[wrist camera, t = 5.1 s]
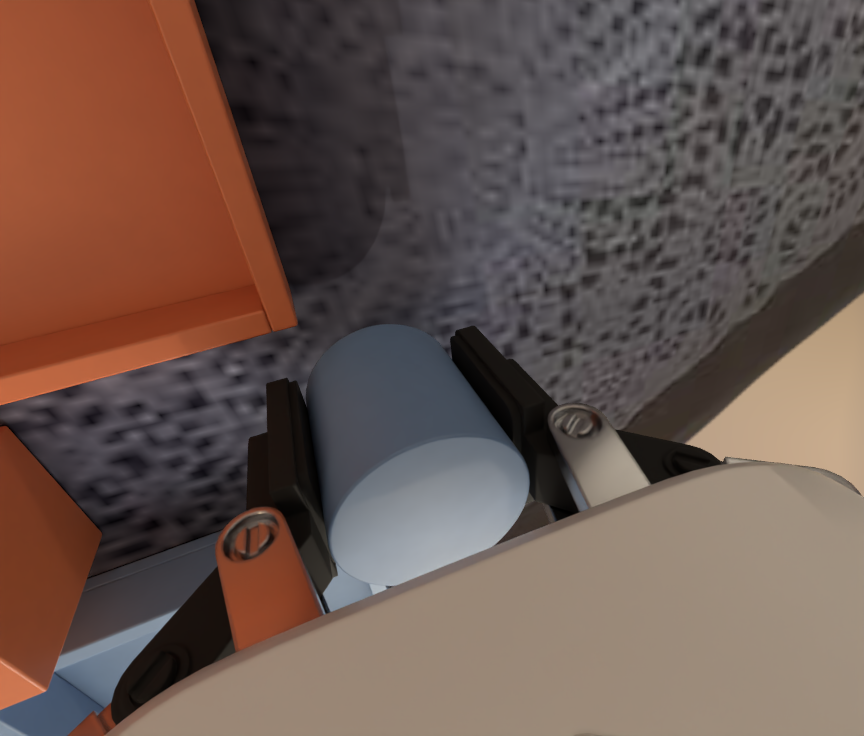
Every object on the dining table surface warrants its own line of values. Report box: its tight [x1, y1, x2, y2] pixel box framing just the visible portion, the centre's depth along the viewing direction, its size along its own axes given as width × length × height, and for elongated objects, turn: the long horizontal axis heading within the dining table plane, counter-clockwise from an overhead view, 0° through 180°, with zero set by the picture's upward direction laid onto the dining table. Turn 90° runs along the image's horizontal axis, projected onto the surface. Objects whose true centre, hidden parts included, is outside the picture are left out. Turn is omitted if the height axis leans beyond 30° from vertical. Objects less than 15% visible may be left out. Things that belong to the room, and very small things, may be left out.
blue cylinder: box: [306, 324, 530, 586], centre depth 11 cm, size 4×4×5 cm
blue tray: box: [0, 530, 389, 736], centre depth 16 cm, size 12×10×2 cm
